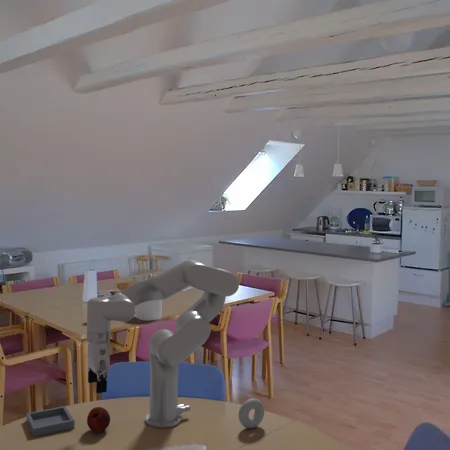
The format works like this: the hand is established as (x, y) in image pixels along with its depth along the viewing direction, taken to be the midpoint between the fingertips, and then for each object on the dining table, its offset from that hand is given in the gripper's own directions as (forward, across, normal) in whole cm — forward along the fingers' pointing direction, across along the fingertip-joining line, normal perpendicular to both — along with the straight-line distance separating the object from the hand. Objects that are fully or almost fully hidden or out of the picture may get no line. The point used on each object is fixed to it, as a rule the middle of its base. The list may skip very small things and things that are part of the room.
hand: (97, 387), depth 168 cm
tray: (+15, +12, +12) cm, 23 cm away
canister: (+14, +135, -73) cm, 154 cm away
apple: (+15, 0, -1) cm, 15 cm away
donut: (+14, -22, -47) cm, 54 cm away
